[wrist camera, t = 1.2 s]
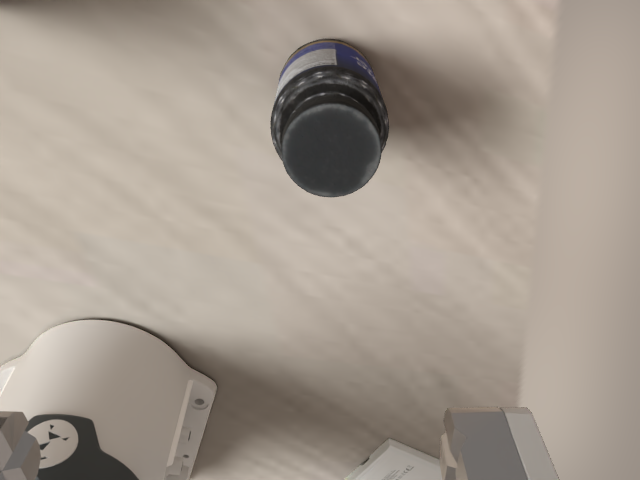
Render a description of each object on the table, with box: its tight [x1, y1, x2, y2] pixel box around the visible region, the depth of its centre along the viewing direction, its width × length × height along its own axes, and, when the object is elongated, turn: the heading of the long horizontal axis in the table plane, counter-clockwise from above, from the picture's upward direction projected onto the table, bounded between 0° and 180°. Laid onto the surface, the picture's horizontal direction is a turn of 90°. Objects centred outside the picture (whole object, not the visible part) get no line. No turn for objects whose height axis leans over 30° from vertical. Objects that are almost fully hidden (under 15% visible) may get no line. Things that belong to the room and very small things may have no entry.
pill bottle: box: [271, 39, 389, 197], centre depth 29 cm, size 6×6×11 cm
